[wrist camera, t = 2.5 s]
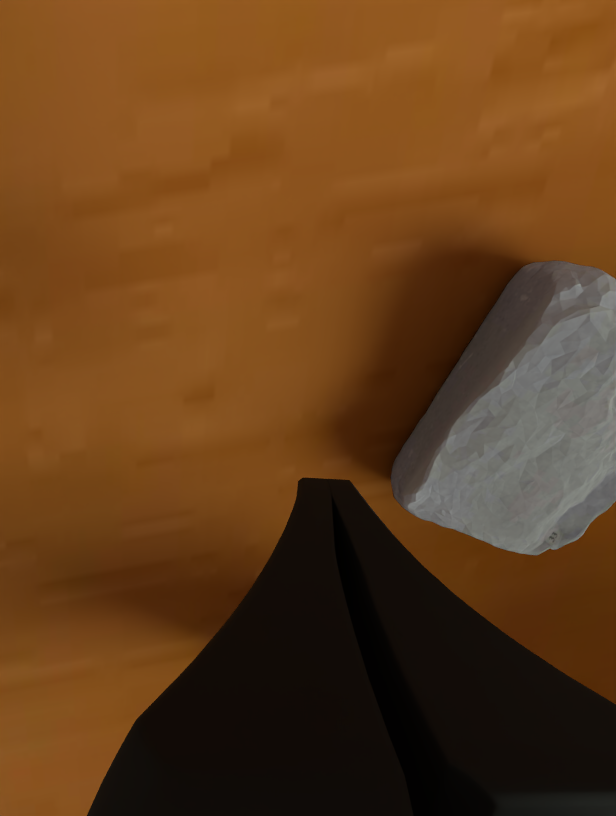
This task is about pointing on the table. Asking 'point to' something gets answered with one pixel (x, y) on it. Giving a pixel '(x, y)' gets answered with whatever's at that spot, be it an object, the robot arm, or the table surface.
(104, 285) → the table surface
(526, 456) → the stone block
